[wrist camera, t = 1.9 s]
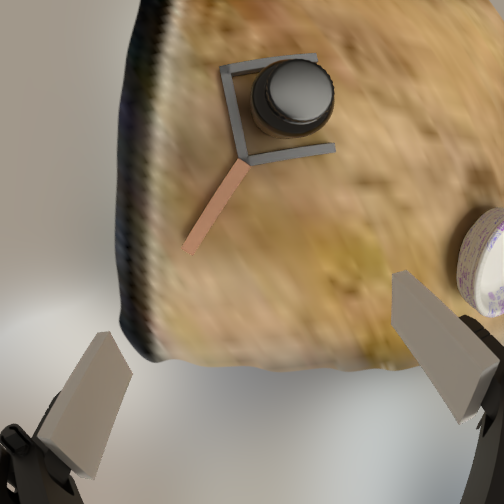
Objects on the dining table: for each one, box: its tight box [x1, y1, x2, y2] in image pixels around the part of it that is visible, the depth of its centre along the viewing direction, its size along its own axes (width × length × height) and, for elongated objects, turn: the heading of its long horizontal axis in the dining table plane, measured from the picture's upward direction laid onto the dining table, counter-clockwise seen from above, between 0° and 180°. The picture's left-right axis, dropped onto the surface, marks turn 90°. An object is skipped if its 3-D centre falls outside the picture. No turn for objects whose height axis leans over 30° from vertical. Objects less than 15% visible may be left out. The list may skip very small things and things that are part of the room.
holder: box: [181, 53, 336, 256], centre depth 29 cm, size 19×18×3 cm
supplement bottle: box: [250, 58, 335, 139], centre depth 23 cm, size 7×7×12 cm
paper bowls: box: [456, 207, 504, 317], centre depth 32 cm, size 15×15×8 cm
